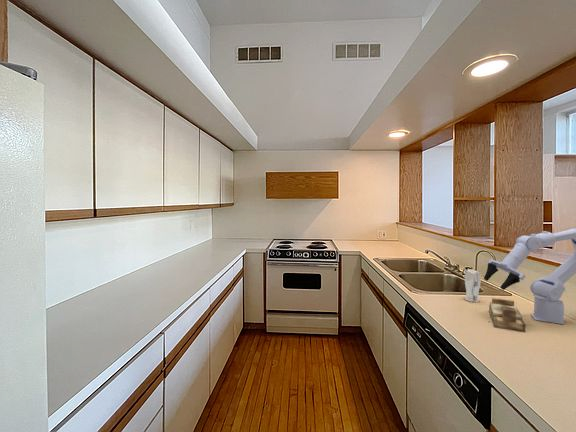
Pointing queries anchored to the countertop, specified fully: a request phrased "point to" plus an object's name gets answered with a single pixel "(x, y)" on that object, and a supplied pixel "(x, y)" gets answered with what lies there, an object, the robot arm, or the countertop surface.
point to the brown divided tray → (507, 322)
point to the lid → (499, 303)
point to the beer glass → (472, 285)
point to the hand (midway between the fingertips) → (493, 284)
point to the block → (509, 314)
